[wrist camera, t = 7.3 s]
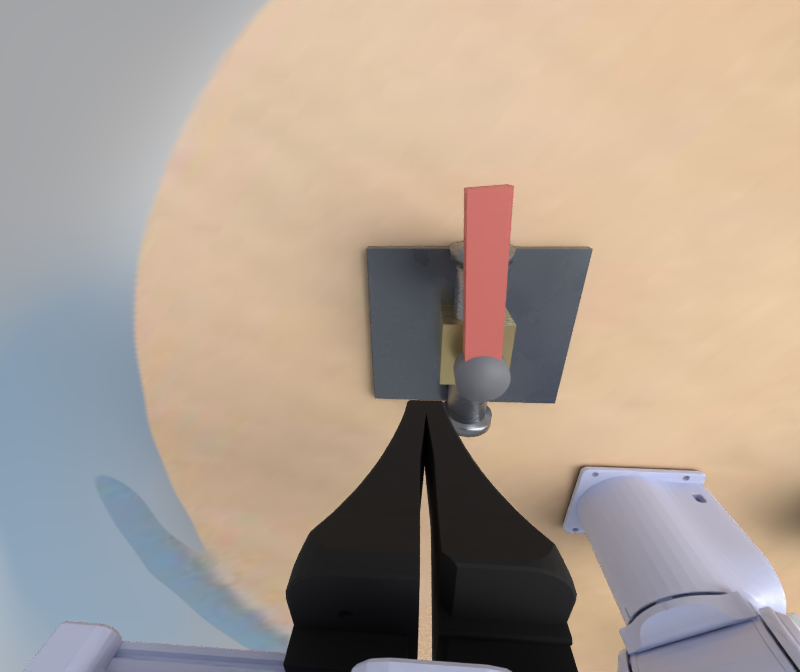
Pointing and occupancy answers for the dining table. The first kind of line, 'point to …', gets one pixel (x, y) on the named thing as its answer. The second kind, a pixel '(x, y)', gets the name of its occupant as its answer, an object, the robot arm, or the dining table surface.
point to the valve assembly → (443, 324)
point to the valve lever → (484, 292)
